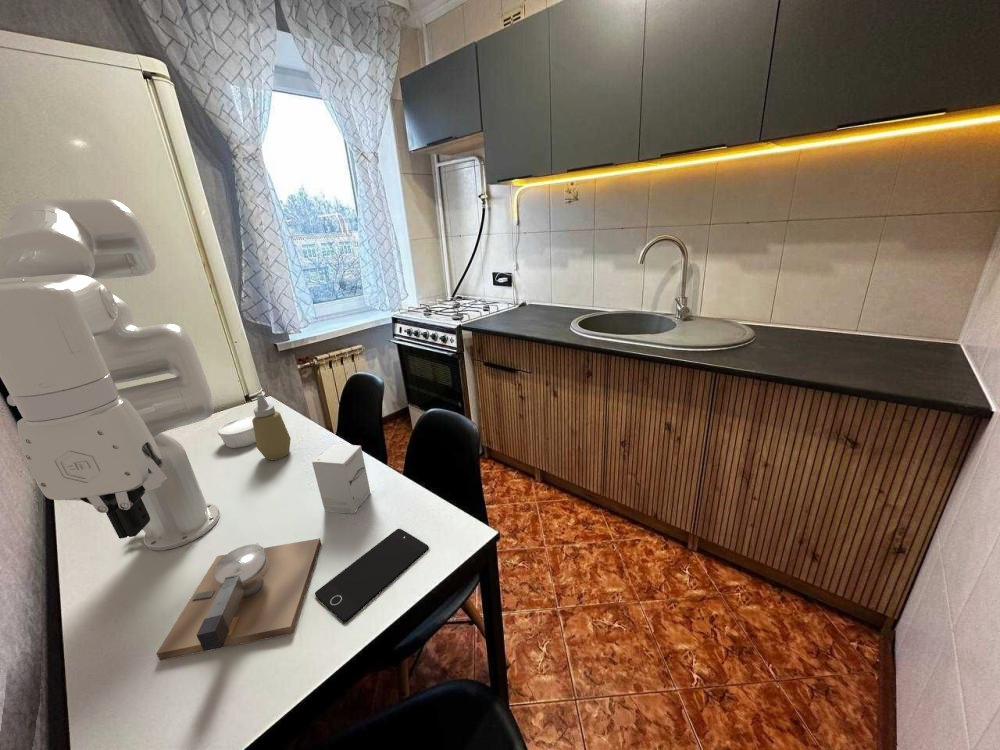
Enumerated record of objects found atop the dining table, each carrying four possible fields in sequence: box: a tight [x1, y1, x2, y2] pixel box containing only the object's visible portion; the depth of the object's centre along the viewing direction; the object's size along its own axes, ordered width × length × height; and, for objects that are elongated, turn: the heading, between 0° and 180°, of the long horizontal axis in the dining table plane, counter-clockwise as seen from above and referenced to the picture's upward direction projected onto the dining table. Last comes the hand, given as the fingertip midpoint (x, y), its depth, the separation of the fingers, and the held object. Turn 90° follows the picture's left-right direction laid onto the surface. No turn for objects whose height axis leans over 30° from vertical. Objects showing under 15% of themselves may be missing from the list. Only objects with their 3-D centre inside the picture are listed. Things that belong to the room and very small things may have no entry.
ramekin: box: [217, 416, 256, 449], centre depth 115 cm, size 11×11×5 cm
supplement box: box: [311, 443, 371, 515], centre depth 85 cm, size 7×7×13 cm
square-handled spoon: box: [196, 543, 269, 653], centre depth 60 cm, size 16×7×3 cm, turn 14°
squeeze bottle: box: [252, 393, 292, 461], centre depth 104 cm, size 8×8×18 cm
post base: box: [156, 537, 322, 661], centre depth 65 cm, size 18×18×4 cm
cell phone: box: [314, 528, 430, 624], centre depth 69 cm, size 9×18×1 cm, turn 143°
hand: (135, 529), depth 50 cm, fingers closed
